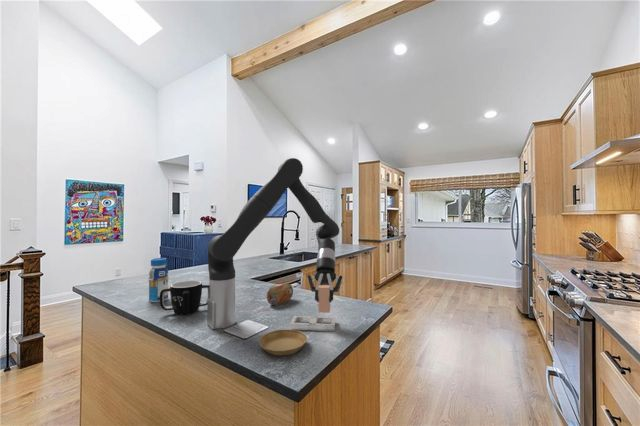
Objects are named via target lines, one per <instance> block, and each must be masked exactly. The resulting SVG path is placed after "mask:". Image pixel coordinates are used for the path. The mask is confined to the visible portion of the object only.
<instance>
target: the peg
mask: <svg viewBox="0 0 640 426" xmlns="http://www.w3.org/2000/svg"><path fill="white" fill-rule="evenodd" d="M329 295H330V285H319V287H318V297H319V301H318V302H317V303H318V313H319V314H320V313H322V314H326V313H328V314H329V313H330V312H331V303H330V302H329Z"/></svg>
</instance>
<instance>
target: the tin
mask: <svg viewBox="0 0 640 426" xmlns="http://www.w3.org/2000/svg"><path fill="white" fill-rule="evenodd" d="M293 293H294V288H293V286H292V285H291V283H286V282H285V283H284V282H283V283H280V284H277V285H274V286H271V287H270V288H269V289H268V290H267V293H266V300H267V303H268V304H270V305H272V306H275V307H276V306H279V305H281V304H282V305H283V304H284V303H288V302H289V301H291V299H292V297H293Z"/></svg>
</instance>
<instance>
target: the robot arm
mask: <svg viewBox="0 0 640 426" xmlns="http://www.w3.org/2000/svg"><path fill="white" fill-rule="evenodd" d="M303 172H304V166H303V163H302V161H300V159H298V158H296V157H291V158H290V157H289V158H287V159H286V160H284V161H283V162H282V163H281V164H280V165H279V166H278V169H277V172H276V173H275V174H274V176H273V177H272V178H271V179H270V180H269V181H267V183H265V184H264V185H263V186H262V187H260V188H259V189H258V190H257V191H256V192H255V193H254V194H253V196H252V197H250V199H248V201H246V203H245V205H243V207H242V209H241V211H240V212H239V215H238V216H237V218H236V220H235V221H234V223H232V224H231V225H230V227H229V228H228V229H227V230H226V231H225V232H224V233H222V234H219V235H216V236H213V237H212V238H211V240H210V241H209V243H208V246H207V263H208V264H207V266H208V267H207V269H208V275H209V276H208V278H209V279H208V281H209V283H208V285H209V299H208V298H207V299H208V300H207V299H206V301H207V305H206V306H207V311H206V312H207V317H206V318H207V319H206V320H207V323H206V324H207V326H209V327H210V329H211V330H215V329H225V328H230V327H232V326H234V325H235V324H236V270H235V265H234V257H235V256H236V254H237V253H238V252H239V250H240V248H241V247H242V246H243V244H244V243H245V242H246V240H247V238H248V237H249V235H251V233H252V232H253V231H254V230H256V228H257V227H258V226H259V225H260V224H261V223H262V221H263V220H264V219H265V218H266V217H267V216H268V215H269V213H270V212H271V211H272V210H273V209H274V207H275V206H276V205H277V203H278V202H279V200H280V199H281V197H282V196H283V194H284V193H285V192H286V191H287V190H290V191H291V194H293V195H294V197H295V198H296V200H297V201H298V203H299V204H300V206H301V207H302V208H303V209H304V211H305V213H306V214H307V216H308V217H309V219H310V221H311V222H312V223H313V224H317V223H321V224H322V225H321V226H318V227H317V229H316V231H315V236H316V239H317V245H318V248H317V249H318V250H317V256H316V266H315V273H314V275H309V274H308V275H307V280H308V284H309V287H310V291H311V292H313V293H314V300H315V301H316V303H318V301H319V297H318V287H319V285H330V295H329V302H330V304H331V303H332V302H333V301H334V294H335V293H338V292H339V290H340V288H341V285H342V283H343V275H337V273H336V262H337V261H336V244H335V241H334V240H333V238H336V237H338V235H339V234H340V228H339V225H338V224H337V223H336V222H335V221H334V220H333V219H332V218H331V217H330V215H328V214H327V212H325V211H324V209H323V207H322V205H321V204H320V202H319V201H318V199H317V198H316V197H315V196H314V195H313V194H312V193H311V192H309V190H308V189H307V188H306V187H305V186H304V185H303V182H302V181H301V179H300V177H301V176H302V174H303ZM314 281H316V286H314V283H313V282H314ZM334 281H336V284H335V285H334V287H333V282H334Z"/></svg>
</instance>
